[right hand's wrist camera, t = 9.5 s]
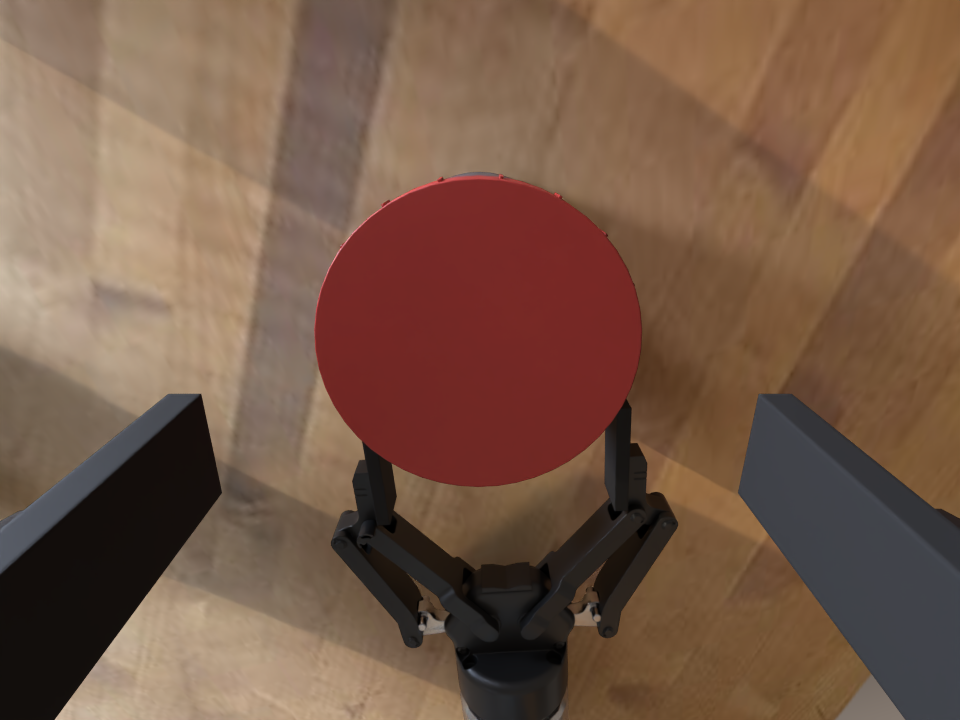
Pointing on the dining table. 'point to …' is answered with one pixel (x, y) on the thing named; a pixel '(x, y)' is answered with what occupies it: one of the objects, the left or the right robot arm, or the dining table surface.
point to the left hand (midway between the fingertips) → (493, 404)
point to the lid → (478, 331)
